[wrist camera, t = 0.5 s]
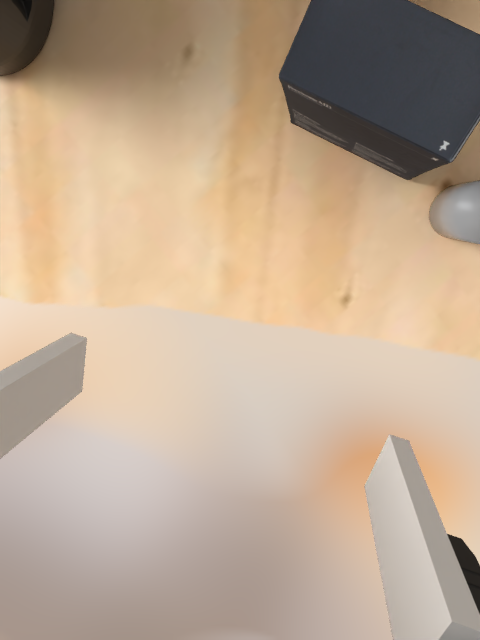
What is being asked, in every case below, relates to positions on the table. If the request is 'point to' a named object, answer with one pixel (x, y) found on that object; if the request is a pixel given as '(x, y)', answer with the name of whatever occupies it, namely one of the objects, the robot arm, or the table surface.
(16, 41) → the robot arm
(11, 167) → the table surface
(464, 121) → the small box
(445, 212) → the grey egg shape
